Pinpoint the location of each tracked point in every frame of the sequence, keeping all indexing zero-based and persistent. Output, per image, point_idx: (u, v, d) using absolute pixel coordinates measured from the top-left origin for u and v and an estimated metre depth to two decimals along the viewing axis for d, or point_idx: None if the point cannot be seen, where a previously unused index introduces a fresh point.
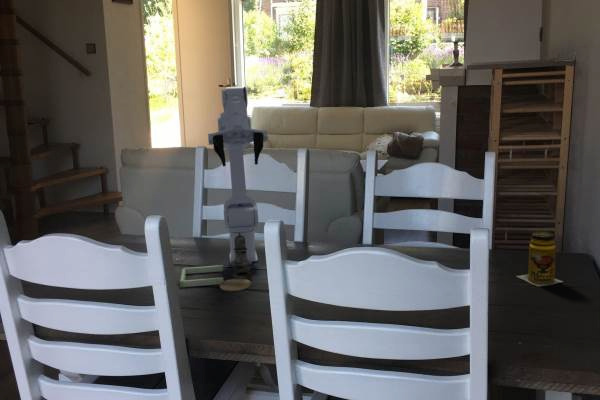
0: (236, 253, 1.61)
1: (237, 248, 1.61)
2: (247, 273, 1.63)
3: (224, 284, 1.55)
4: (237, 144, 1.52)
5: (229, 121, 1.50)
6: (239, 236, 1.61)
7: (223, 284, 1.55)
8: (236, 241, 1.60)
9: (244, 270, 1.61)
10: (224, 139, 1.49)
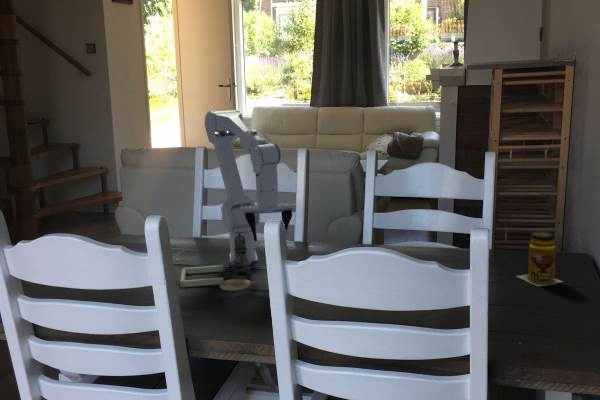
0: (235, 253, 1.61)
1: (237, 248, 1.61)
2: (247, 273, 1.63)
3: (224, 284, 1.55)
4: None
5: (261, 197, 1.58)
6: (239, 236, 1.61)
7: (223, 284, 1.55)
8: (236, 241, 1.60)
9: (244, 270, 1.61)
10: (255, 212, 1.60)
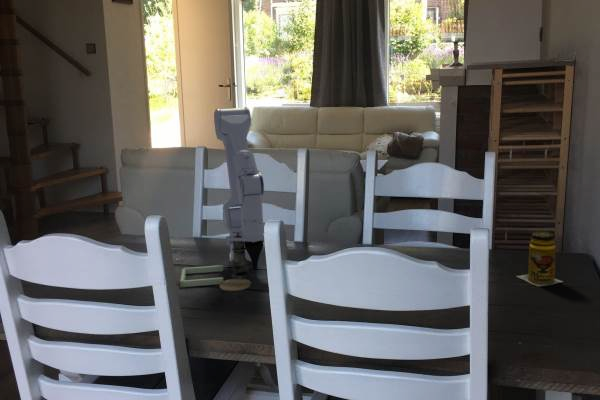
0: (234, 253, 1.61)
1: (235, 248, 1.61)
2: (246, 273, 1.63)
3: (224, 284, 1.55)
4: None
5: (246, 228, 1.59)
6: (237, 236, 1.61)
7: (223, 284, 1.55)
8: (234, 241, 1.60)
9: (243, 270, 1.61)
10: None
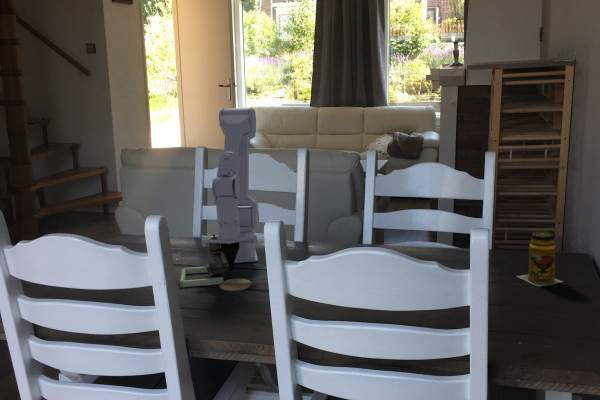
0: (210, 255, 1.60)
1: (211, 250, 1.60)
2: (222, 275, 1.62)
3: (224, 284, 1.55)
4: None
5: (221, 229, 1.58)
6: (213, 238, 1.60)
7: (223, 284, 1.55)
8: (210, 243, 1.60)
9: (219, 272, 1.60)
10: None
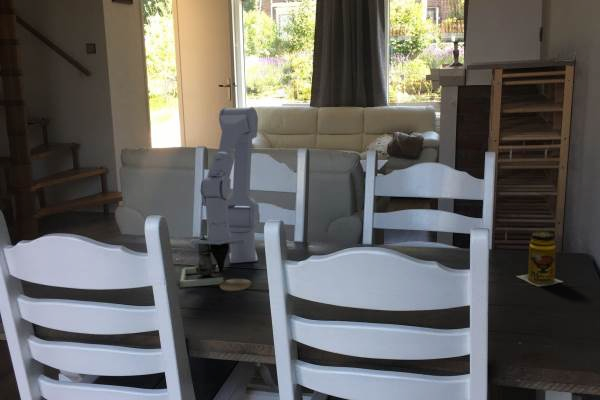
0: (199, 255, 1.60)
1: (201, 251, 1.60)
2: (211, 276, 1.62)
3: (224, 284, 1.55)
4: None
5: (211, 230, 1.58)
6: (203, 239, 1.60)
7: (223, 284, 1.55)
8: (200, 244, 1.59)
9: (208, 273, 1.60)
10: None
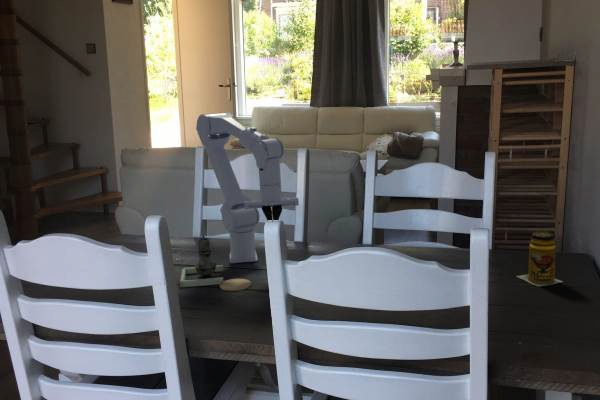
0: (199, 256, 1.60)
1: (201, 251, 1.60)
2: (211, 276, 1.62)
3: (224, 284, 1.55)
4: None
5: (264, 191, 1.61)
6: (203, 239, 1.60)
7: (223, 284, 1.55)
8: (200, 244, 1.59)
9: (208, 273, 1.60)
10: (259, 206, 1.63)
